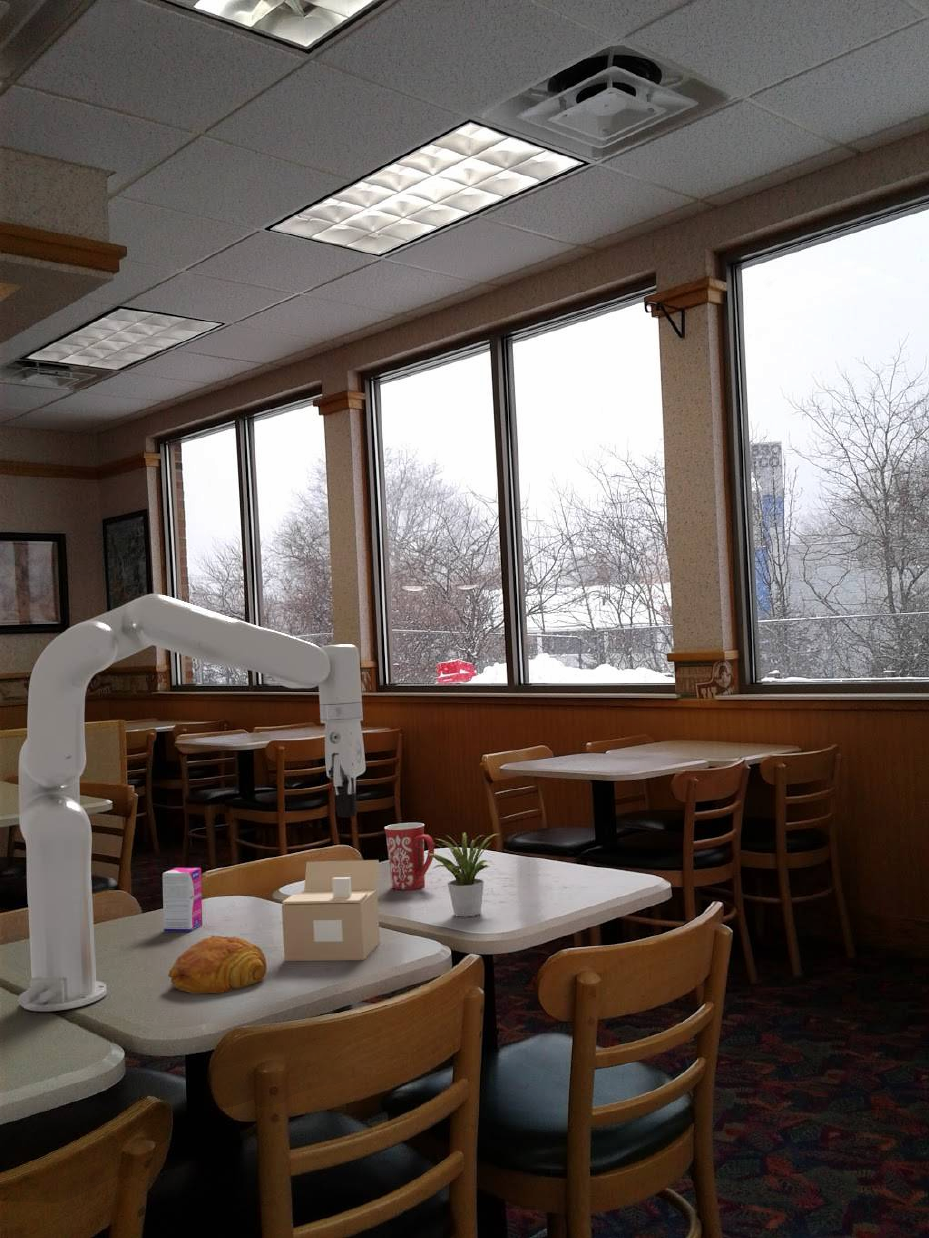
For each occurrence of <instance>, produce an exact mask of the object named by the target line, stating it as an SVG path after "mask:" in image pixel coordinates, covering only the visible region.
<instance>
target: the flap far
mask: <svg viewBox="0 0 929 1238" xmlns="http://www.w3.org/2000/svg"><path fill="white" fill-rule="evenodd" d="M379 862H380V861H379V859H364V860H361V859H360V860H331V861H330V860H325V861H324V860H322V861H318V860H317V861H306V862H305V863H306V865H305V866H306V867H305V877H304V887H303V889H304V890H303V891H317V890H333V885H332V879H333V878H340V877H351V890H364V889H377V890H378V884H379V880H378V878H379V867H380V866H379Z"/></svg>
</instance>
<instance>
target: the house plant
mask: <svg viewBox="0 0 929 1238" xmlns="http://www.w3.org/2000/svg"><path fill="white" fill-rule="evenodd" d="M498 835H501V832H500V833H493V834H491V835H489V836H487V837H486V838H485V839H484V840H483V841H482V842H481V843H480V844H479V846H476V847H474V846H475V843H476V841H477V840H478V839H479V838H480V837H483V836H484V834H482V835H479V836H477V837H476V838H475V839H472V840H471V841H470V847H469V855H468V836H467V833H466V832H464V831H463V832H462V839H461V848H460V846H459V845H458V844H457V842H456V841H455V840H454V839H453V838H451V837H450V836H449V835H447V838H449V839H450V840H451V841H452V843H454V845H455V846H454V845H453V844H452V843H450V842H449V841H446V840H443V839H440V838H434V840H439V841H441V842H443V843H441V842H440V844H442V845H445V846H447V847H448V849H449V850H450V852H451V853H452V855H451V854H450V853H449V852H448V851H446V850H445V851H446V853H447V854H448V855H449V856H450V857H452V856H453V857H454V858H452V860H453V861H454V862H455V863H453V862H452V861H451V860H450V859H448V858H446V857H443V856H441V855H438V854H436V853H434V854H429V853H428V852H426V853H425V852H424V855H425V854H427V856H428V855H429V856H432V857H433V859H434V860H436V861H438V862H440V863H441V864H437V865H435V866H434V867H432V870H434V869H435V868H436V869H437V868H438V867H444V868H446V869H447V870H448V871H449V872H450V873H451V875H453V877H454V879H452V880H450V881H448V882H447V886H448V893H449V896H450V901H451V905H452V906H451V907H452V910H453V915H454V914H455V915H457V916H473V917H476V916H475V915H477V916H479V915H481V914H480V913H482V903H483V892H484V883H485V881H484V880H483V879H482V878H477V877H476V876H477V874H478V873H479V872H480V871H482V870H484V869H487V868H490V865H488V864H485V863H486V862H488V860H486V859H482V860H479V859H480V857H481V856H482V855H483V853H484V851H485V850H486V849H487V847H489V845H490V844H491V842H489V843H488V844H487V842H488V841H489V840H490V839H491V838H493V837H494V836H498ZM433 844H434V845H436V846H438V847H440V848H442V846H440V845H439V844H436V843H433ZM485 844H486V846H485ZM484 846H485V847H484ZM442 849H443V848H442ZM478 861H479V862H478ZM477 862H478V863H477ZM489 862H490V863H492V861H491V860H489ZM478 914H479V915H478ZM455 915H454V916H455ZM457 916H456V917H457Z"/></svg>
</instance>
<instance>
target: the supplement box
mask: <svg viewBox="0 0 929 1238" xmlns="http://www.w3.org/2000/svg"><path fill="white" fill-rule="evenodd" d="M202 894H203V892H202V868H201V867H174V868H172V869H170V870H167V871H165V872H163V873H162V901H163V902H162V903H163V904H162V905H163V932H164V933H187V932H188V933H189V932H191V931H193V930H194V929H196V928H199V927H200V926H202V925H203V903H202V902H203V897H202Z"/></svg>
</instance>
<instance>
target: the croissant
mask: <svg viewBox="0 0 929 1238" xmlns="http://www.w3.org/2000/svg"><path fill="white" fill-rule="evenodd" d="M266 972H267V961H266V956H265V953H264V952H263V951H262V949H261V948H260V947H259V946H258V945H256V944H253V943H251V942H249V941H248V940H245V939H243V938H240V937H235V936H234V937H233V936H232V937H231V936H220V935H219V936H217V935H216V936H215V935H213V936H211V937H207V938H202V939H201V940H199V941H198V942H196V943H194V944H193V945H191V946H190V947H189V948H187V950H186V951H184V952H182V954H181V955H179V956H178V957H177V958H176V961H175V963H174V964H173V966H172V967H171V968H170V970H169V973H168V974H167V977H168V978H170V979H171V980H170V982H171V985H173V987H174V988H175V989H177V990H180V991H182V992H187V993H190V994H196V995H198V994H199V995H201V994H223V993H229V992H231V991H232V990H238V989H239V990H240V989H242V988H245V987H248V986H251V985H253V984H257V983H260V982H261V981H262V980H263V979H264V978H265V975H266Z"/></svg>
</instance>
